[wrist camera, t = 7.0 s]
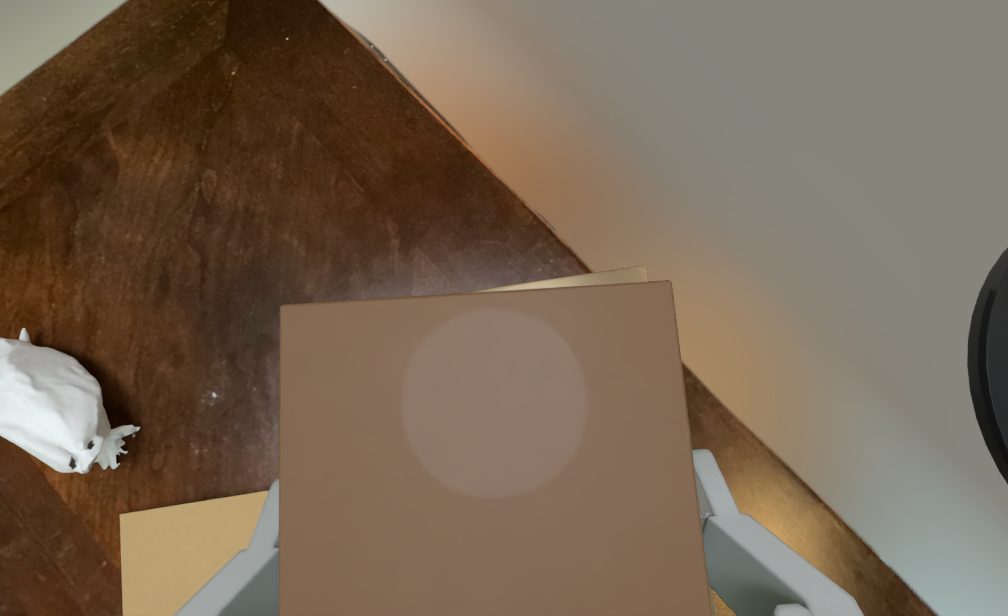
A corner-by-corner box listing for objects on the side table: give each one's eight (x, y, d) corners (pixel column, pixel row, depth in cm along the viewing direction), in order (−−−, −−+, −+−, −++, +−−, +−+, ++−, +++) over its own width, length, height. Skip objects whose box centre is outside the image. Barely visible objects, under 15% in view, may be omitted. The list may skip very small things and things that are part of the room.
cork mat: (289, 486, 32) (287, 487, 31) (303, 666, 30) (302, 668, 30) (122, 513, 31) (119, 514, 31) (127, 696, 30) (125, 698, 29)
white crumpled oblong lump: (173, 388, 34) (13, 317, 32) (109, 423, 27) (-97, 336, 25) (139, 454, 34) (-22, 387, 32) (67, 506, 27) (-141, 424, 25)
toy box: (583, 339, 17) (672, 279, 8) (607, 608, 16) (747, 884, 7) (394, 351, 17) (278, 304, 8) (402, 624, 16) (274, 924, 7)
